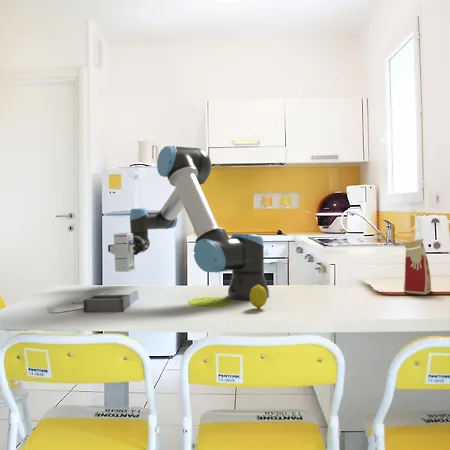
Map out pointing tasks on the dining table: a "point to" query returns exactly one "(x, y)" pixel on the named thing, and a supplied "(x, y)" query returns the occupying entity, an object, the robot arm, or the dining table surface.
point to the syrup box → (123, 252)
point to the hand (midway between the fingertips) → (120, 249)
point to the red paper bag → (416, 268)
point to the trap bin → (106, 303)
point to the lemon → (258, 296)
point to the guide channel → (132, 296)
